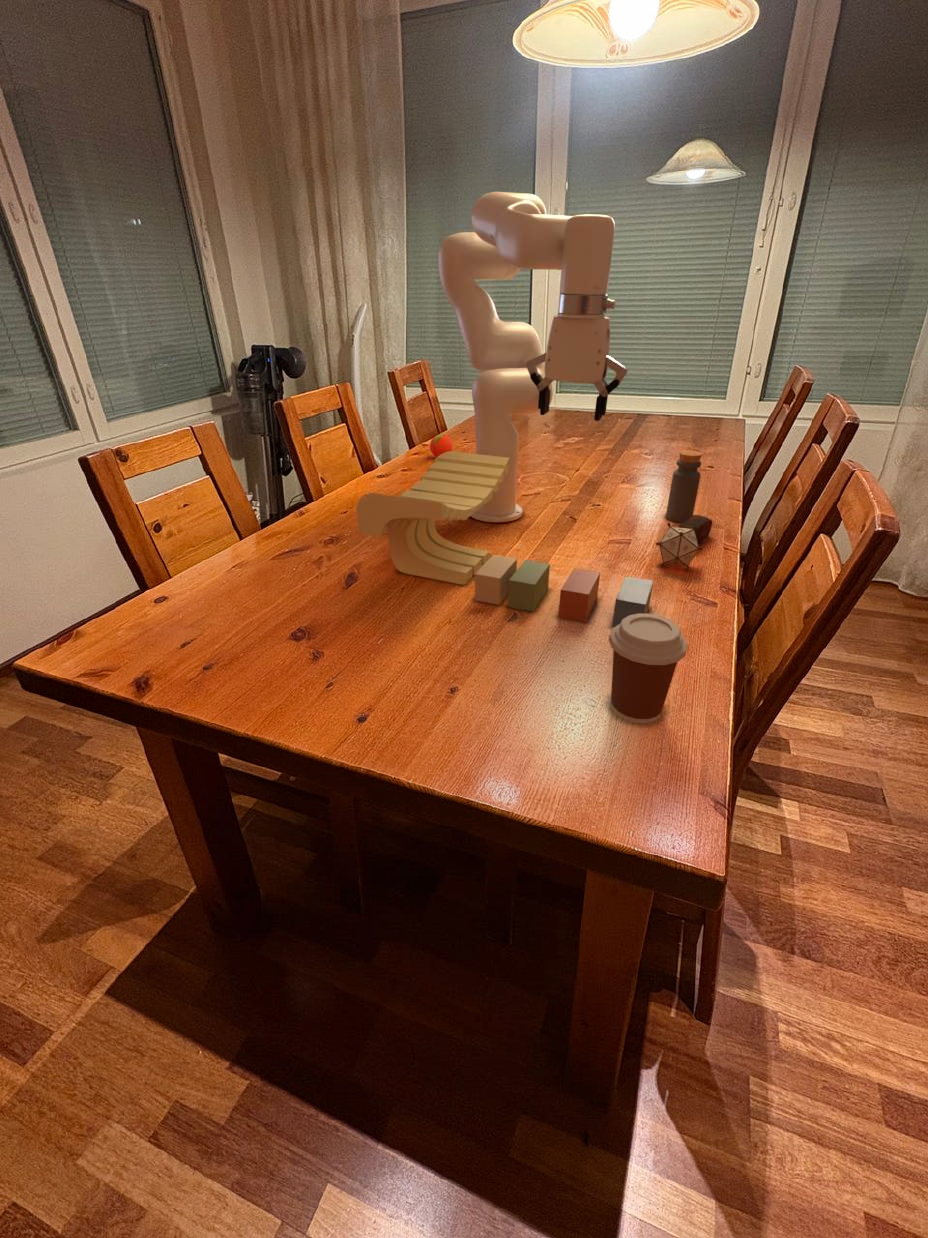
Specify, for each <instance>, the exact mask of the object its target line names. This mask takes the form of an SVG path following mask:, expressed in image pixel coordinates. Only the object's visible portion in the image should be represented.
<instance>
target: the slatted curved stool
mask: <svg viewBox="0 0 928 1238" xmlns="http://www.w3.org/2000/svg"><path fill="white" fill-rule="evenodd" d="M508 472H509V458H507V457H498V456H489V455H480V454H476V453H470V452H461V451H454V450H452V451H449V452H445V453H443V454H441V455H440V456H438V457H435V459H434V461H433V463H432V464H431V465H430V466H428V468H427V470H426V472H425V473H424V474H423V475H422V476H421V478H420V480H419V481H418V482H416V483H415V484H413V486H411V487H410V488H409V489H407V490H405V491H404V492H402V493H400V494H398V496H395V495H387V494H381V493H375V492H367V493H366V494H364V495H362V496H361V497H360V498H359V499H358V501H357V504H356V507H355V508H356V511H355V512H356V513H355V514H356V522H357V523H356V524H357V534H359V535H364V536H370V537H375V538H381V537H382V536H383V535H384V534H386V537H387V542H388V550H389V556H390V559H391V561H392V564H393V565H394V567H395V568H396V569H397V570H398V571H399V572H400V573H402V574H407V575H412V576H416V577H421V578H422V577H423V578H428V579H432V580H436V581H442V582H448V583H452V584H456V585H457V584H458V585H463V586H465V585H466V584H467V583H468V582H469V581H470V580H471V579H472V578H473V576H475V573H476V572H477V571H478V570H479V569H480V568H481V567H482V566H483V565H484V564H485V563H486V562H487V561H488V560H489V559H490V558H491V557H492V556H491V551H490V550H484V549H481V548H475V547H471V546H465V545H461V544H458V543H456V542H453V541H450V540H447V539H446V538H444V537H443V536H441V535H440V533H438V531H437V530H436V521H465V520H468V518H470V517H471V515H472V514H473V512H476V511H477V510H478V509H480V508H481V507H482V506H483V504H486V503H487V502H489V501H490V500H491V499H492V498H493V492H495V491H497V490H498V483H501V482H502V481H504V474H507V473H508Z"/></svg>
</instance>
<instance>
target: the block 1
mask: <svg viewBox="0 0 928 1238" xmlns="http://www.w3.org/2000/svg"><path fill="white" fill-rule="evenodd" d="M490 557H491V558H490V559H489V560H488V561H487V562H486V563H485V564H484V565H482V567H481V568H480V569H479V570H478V571H477V572H476V573H475V575H474V601H477V602H482V603H487V604H492V605H497V606H500V604H501V603H502V602H503V601H504V599H505V598H506V597H507V596H508V586H509V579H510V578H511V577H512V575H513V574H514V573H515V572H516V571H517V569H518V558H517V557H512V556H505V555H499V554H492V555H491V556H490Z"/></svg>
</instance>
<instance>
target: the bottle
mask: <svg viewBox="0 0 928 1238" xmlns="http://www.w3.org/2000/svg"><path fill="white" fill-rule="evenodd" d="M702 456H703V453H702V452H699V451H696V450H681V451H679V458H678V459H677V460H676V466H678V468H677V469H675V470H674V471H673V473H672V478H671V484H670V489H669V495H668V500H667V505H666V512H665V518H666V519H667V520H669V521H672V522H676V523H682V522H684V521H686V520H687V519H689V518H690V517H692V516H693V515H694V512H695V506H696V502H697V497H698V493H699V491H698V490H699V486H700V481H701V475H702V474H701V472H700V471H699V470H698V469H699V468H700V467H701V466H702V461H701V459H702Z"/></svg>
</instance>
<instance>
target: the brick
mask: <svg viewBox="0 0 928 1238" xmlns="http://www.w3.org/2000/svg"><path fill="white" fill-rule="evenodd" d="M695 526H697V528H696V529H695V533H696V537H697V541H698V545H699V544H701V543H703V542H704V541H705V540H706V539H707V538H709V536H710V533H711V532H712V526H713V520H712V519H711V518H709V517H707V516H704V515H700V514H693V516H692V517H690V518H689V519H687V520H686V521H684V522H680V523H679V524H678V525H677V527H681V528H690V529H694V527H695Z"/></svg>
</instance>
